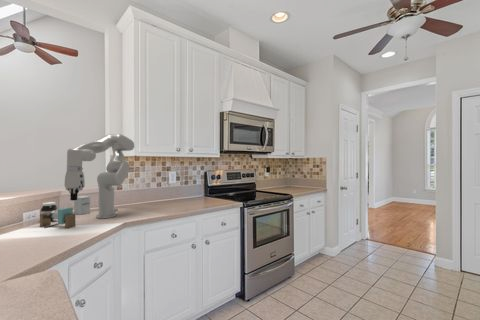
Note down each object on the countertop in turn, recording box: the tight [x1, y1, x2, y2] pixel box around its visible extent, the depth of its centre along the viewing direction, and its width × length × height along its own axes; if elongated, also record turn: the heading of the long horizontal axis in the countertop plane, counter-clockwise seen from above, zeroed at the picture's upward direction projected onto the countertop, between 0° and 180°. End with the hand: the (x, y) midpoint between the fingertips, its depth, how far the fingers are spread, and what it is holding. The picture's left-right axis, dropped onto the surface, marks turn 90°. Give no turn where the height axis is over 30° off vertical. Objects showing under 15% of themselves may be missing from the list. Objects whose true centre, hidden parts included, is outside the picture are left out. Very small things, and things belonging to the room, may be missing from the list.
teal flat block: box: [57, 206, 74, 225], centre depth 141 cm, size 3×7×8 cm, turn 170°
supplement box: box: [73, 195, 91, 216], centre depth 176 cm, size 7×7×13 cm
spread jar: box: [40, 201, 58, 222], centre depth 156 cm, size 12×11×12 cm
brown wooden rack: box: [39, 212, 76, 229], centre depth 142 cm, size 20×9×8 cm, turn 80°
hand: (73, 200), depth 139 cm, fingers closed
